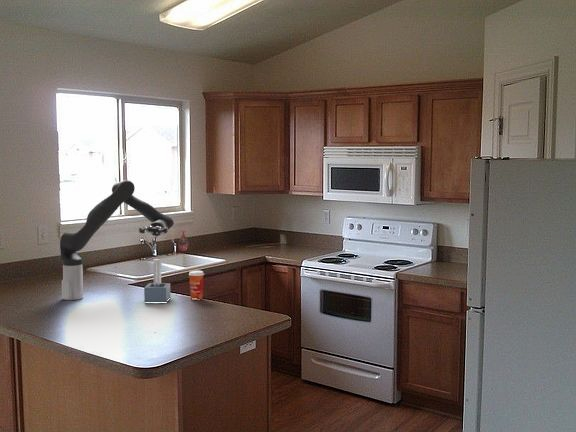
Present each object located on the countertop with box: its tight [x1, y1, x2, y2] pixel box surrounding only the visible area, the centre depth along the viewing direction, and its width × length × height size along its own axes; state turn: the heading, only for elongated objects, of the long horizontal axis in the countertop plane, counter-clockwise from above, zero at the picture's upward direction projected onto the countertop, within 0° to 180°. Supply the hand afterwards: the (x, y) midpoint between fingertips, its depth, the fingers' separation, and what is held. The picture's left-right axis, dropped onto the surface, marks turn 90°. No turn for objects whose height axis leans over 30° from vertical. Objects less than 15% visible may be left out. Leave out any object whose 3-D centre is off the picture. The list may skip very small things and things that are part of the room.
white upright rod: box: [152, 258, 162, 287], centre depth 309 cm, size 4×4×20 cm
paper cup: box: [188, 270, 205, 300], centre depth 315 cm, size 8×8×14 cm
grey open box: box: [143, 282, 171, 303], centre depth 310 cm, size 11×11×8 cm
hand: (150, 231), depth 322 cm, fingers open, 8 cm apart
